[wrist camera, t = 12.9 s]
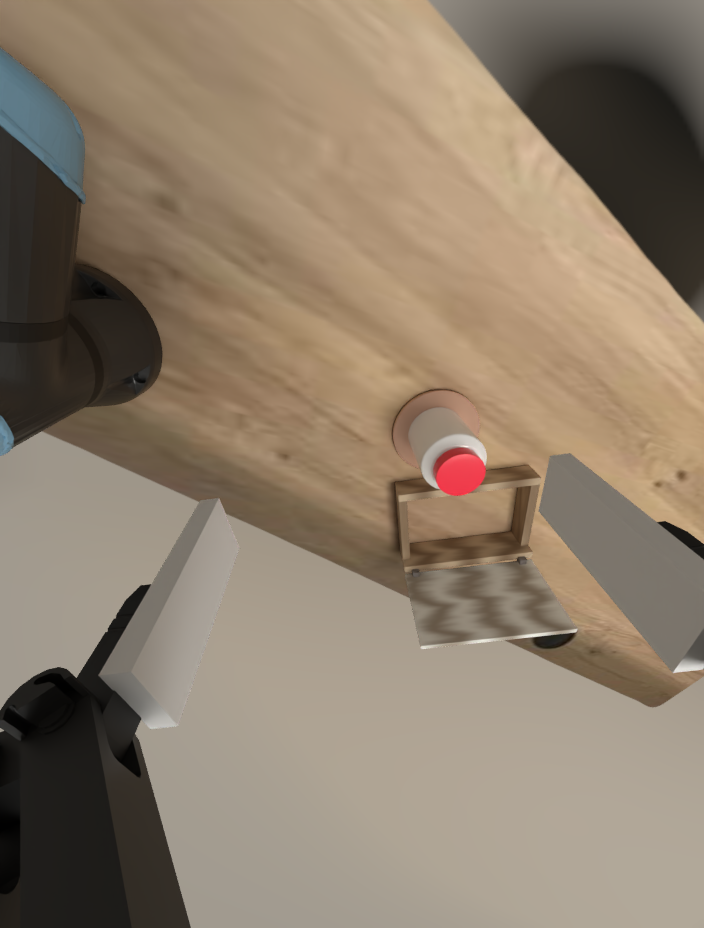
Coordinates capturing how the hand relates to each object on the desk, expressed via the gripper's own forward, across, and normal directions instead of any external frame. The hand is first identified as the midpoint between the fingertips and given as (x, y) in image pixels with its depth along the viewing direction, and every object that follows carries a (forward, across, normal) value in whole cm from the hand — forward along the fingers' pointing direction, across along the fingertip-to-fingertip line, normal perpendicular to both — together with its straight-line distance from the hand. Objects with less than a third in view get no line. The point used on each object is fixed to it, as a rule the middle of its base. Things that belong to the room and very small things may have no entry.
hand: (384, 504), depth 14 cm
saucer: (+31, +10, -13) cm, 35 cm away
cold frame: (+31, +14, -28) cm, 44 cm away
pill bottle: (+31, +10, -13) cm, 35 cm away
